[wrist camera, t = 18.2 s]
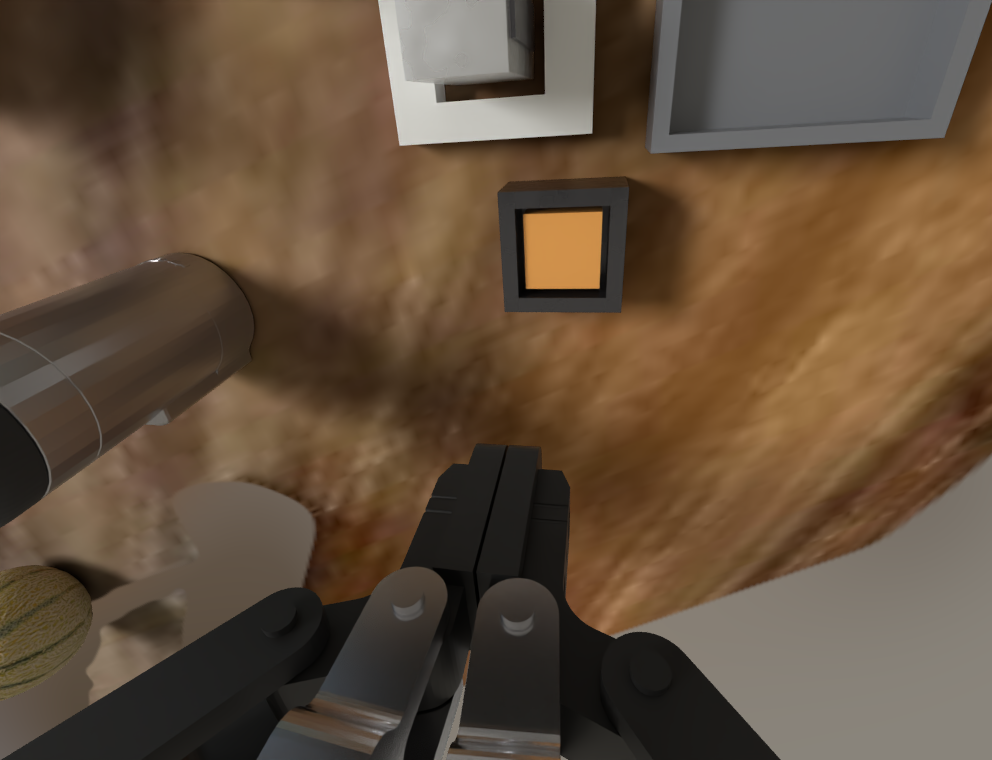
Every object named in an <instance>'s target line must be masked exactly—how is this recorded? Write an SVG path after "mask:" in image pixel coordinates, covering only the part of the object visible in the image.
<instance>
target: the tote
mask: <svg viewBox="0 0 992 760" xmlns="http://www.w3.org/2000/svg"><path fill="white" fill-rule="evenodd" d="M991 2H992V0H657V1H656V14H655V27H654V40H653V53H652V65H651V78H650V91H649V104H648V117H647V130H646V143H645V148H646V149H647V150H648V151H649V152H650V153H669V152H687V151H706V150H724V149H743V148H762V147H780V146H799V145H817V144H836V143H855V142H873V141H892V140H910V139H929V138H944V137H945V134H946V131H947V128H948V125H949V122H950V120H951V117H952V114H953V111H954V108H955V105H956V102H957V100H958V97H959V94H960V91H961V88H962V85H963V82H964V79H965V77H966V74H967V71H968V68H969V65H970V62H971V59H972V57H973V54H974V51H975V48H976V45H977V42H978V39H979V37H980V34H981V31H982V28H983V25H984V22H985V19H986V16H987V14H988V11H989V8H990V5H991Z"/></svg>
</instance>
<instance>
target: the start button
mask: <svg viewBox="0 0 992 760" xmlns="http://www.w3.org/2000/svg"><path fill="white" fill-rule="evenodd" d="M602 213H603V210H602V206H585V207H557V208H528V209H526V211H525V212H524V214H523V224H524V251H525V278H526V289H599V287H600V262H601V238H602Z"/></svg>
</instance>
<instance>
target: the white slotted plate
mask: <svg viewBox="0 0 992 760" xmlns="http://www.w3.org/2000/svg"><path fill="white" fill-rule="evenodd" d="M378 2H379V9H380V16H381V22H382V29H383V36H384V43H385V49H386V56H387V63H388V70H389V76H390V83H391V90H392V97H393V103H394V110H395V117H396V124H397V131H398V137H399V144H400V146H401V145H417V144H433V143H449V142H465V141H481V140H497V139H513V138H529V137H545V136H561V135H577V134H592V128H593V93H594V58H595V23H596V0H544V49H545V94H543V95H530V96H517V97H505V98H492V99H479V100H467V101H454V102H446V96H445V86H444V84H434V83H423V82H411V81H405V75H404V67H403V60H402V53H401V45H400V38H399V30H398V23H397V15H396V8H395V1H394V0H378Z"/></svg>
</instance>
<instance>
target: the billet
mask: <svg viewBox="0 0 992 760" xmlns="http://www.w3.org/2000/svg"><path fill="white" fill-rule="evenodd" d="M394 1H395V8H396V15H397V23H398V30H399V38H400V45H401V53H402V60H403V67H404V75H405V81H411V82H423V83H434V84H446V85H457V86H459V85H471V84H483V83H495V82H507V81H518V80H530V79H534V58H533V52H535V28H534V4H533V2H532V0H394Z"/></svg>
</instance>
